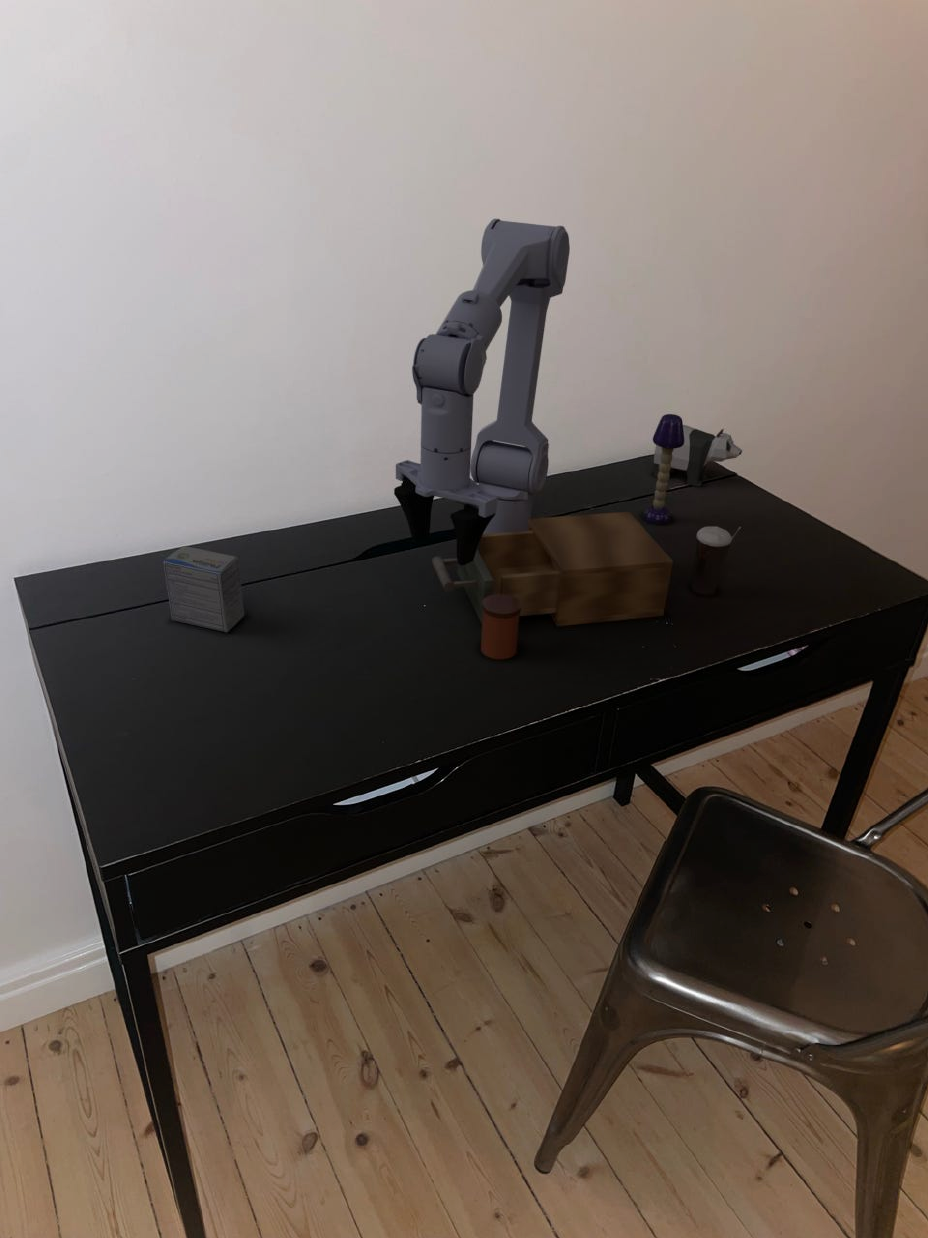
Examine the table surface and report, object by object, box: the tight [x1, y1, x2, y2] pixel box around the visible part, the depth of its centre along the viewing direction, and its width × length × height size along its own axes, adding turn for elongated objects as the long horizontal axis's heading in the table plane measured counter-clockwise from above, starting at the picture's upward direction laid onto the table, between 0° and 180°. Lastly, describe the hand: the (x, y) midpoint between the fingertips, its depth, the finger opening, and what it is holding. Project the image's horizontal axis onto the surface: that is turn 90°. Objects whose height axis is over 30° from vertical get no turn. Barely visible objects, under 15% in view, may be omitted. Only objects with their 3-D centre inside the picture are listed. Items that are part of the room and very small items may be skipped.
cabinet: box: [527, 511, 674, 627], centre depth 127 cm, size 15×15×8 cm
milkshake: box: [691, 525, 742, 596], centre depth 128 cm, size 4×5×10 cm
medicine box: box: [162, 545, 245, 633], centre depth 117 cm, size 8×4×9 cm, turn 71°
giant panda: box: [653, 424, 743, 488], centre depth 160 cm, size 15×6×10 cm, turn 61°
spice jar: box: [480, 594, 521, 660], centre depth 114 cm, size 5×5×6 cm
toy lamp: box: [643, 413, 684, 525], centre depth 145 cm, size 5×5×17 cm
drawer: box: [431, 530, 561, 625], centre depth 124 cm, size 18×13×6 cm
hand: (442, 550), depth 115 cm, fingers open, 7 cm apart
